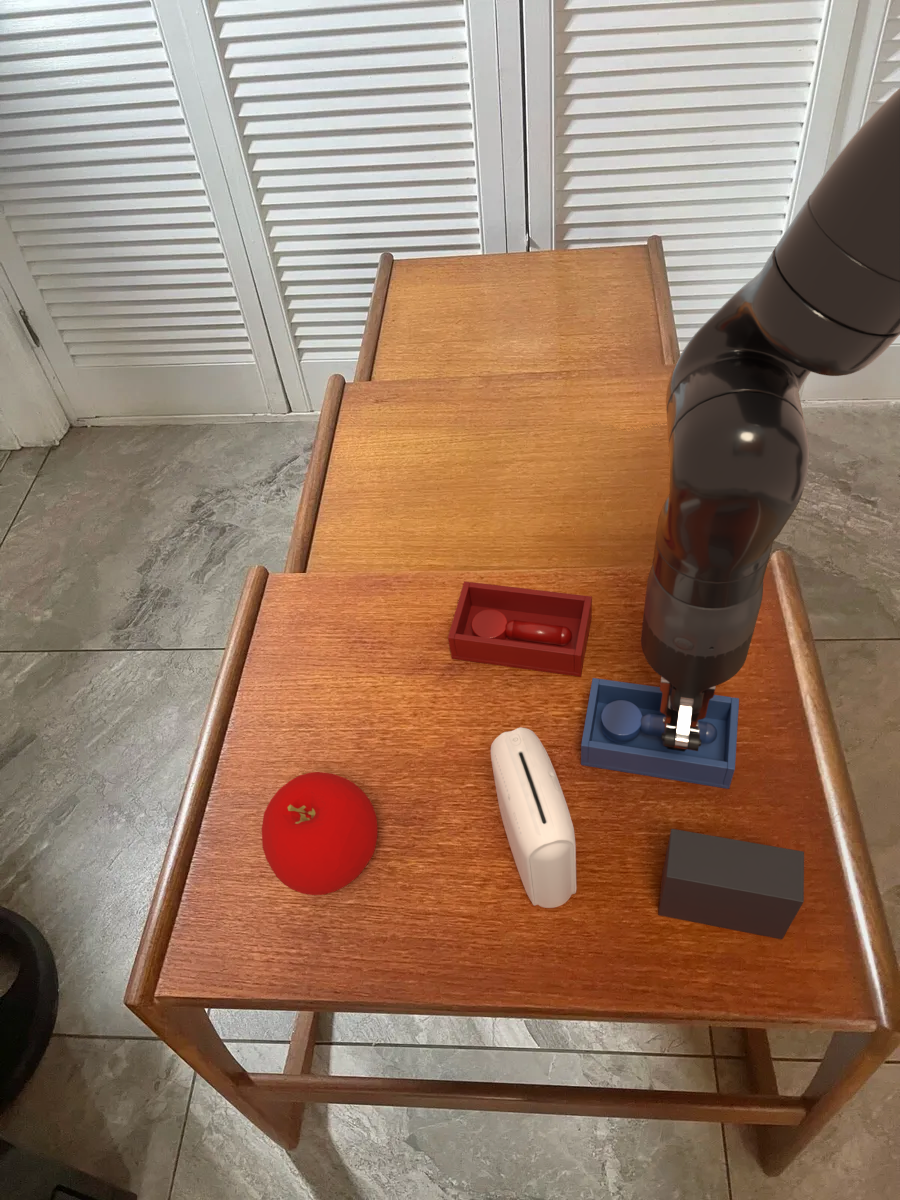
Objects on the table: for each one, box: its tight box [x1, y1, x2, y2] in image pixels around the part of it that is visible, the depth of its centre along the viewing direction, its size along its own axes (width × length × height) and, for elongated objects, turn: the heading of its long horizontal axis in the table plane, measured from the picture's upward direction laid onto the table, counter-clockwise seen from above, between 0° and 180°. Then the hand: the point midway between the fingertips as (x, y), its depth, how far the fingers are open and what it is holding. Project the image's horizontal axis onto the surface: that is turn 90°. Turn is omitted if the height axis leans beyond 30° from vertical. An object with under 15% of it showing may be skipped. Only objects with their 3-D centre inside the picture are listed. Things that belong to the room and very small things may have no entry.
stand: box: [657, 828, 805, 940], centre depth 66 cm, size 9×4×8 cm, turn 76°
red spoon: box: [471, 609, 572, 646], centre depth 85 cm, size 10×3×2 cm, turn 76°
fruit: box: [261, 771, 379, 896], centre depth 71 cm, size 9×9×10 cm
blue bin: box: [580, 677, 740, 790], centre depth 76 cm, size 12×7×4 cm, turn 76°
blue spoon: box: [601, 700, 717, 744], centre depth 75 cm, size 10×3×2 cm, turn 76°
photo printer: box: [490, 726, 578, 909], centre depth 68 cm, size 10×4×12 cm, turn 14°
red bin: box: [447, 580, 593, 678], centre depth 84 cm, size 12×7×4 cm, turn 76°
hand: (677, 732), depth 76 cm, fingers closed on blue spoon, 1 cm apart
